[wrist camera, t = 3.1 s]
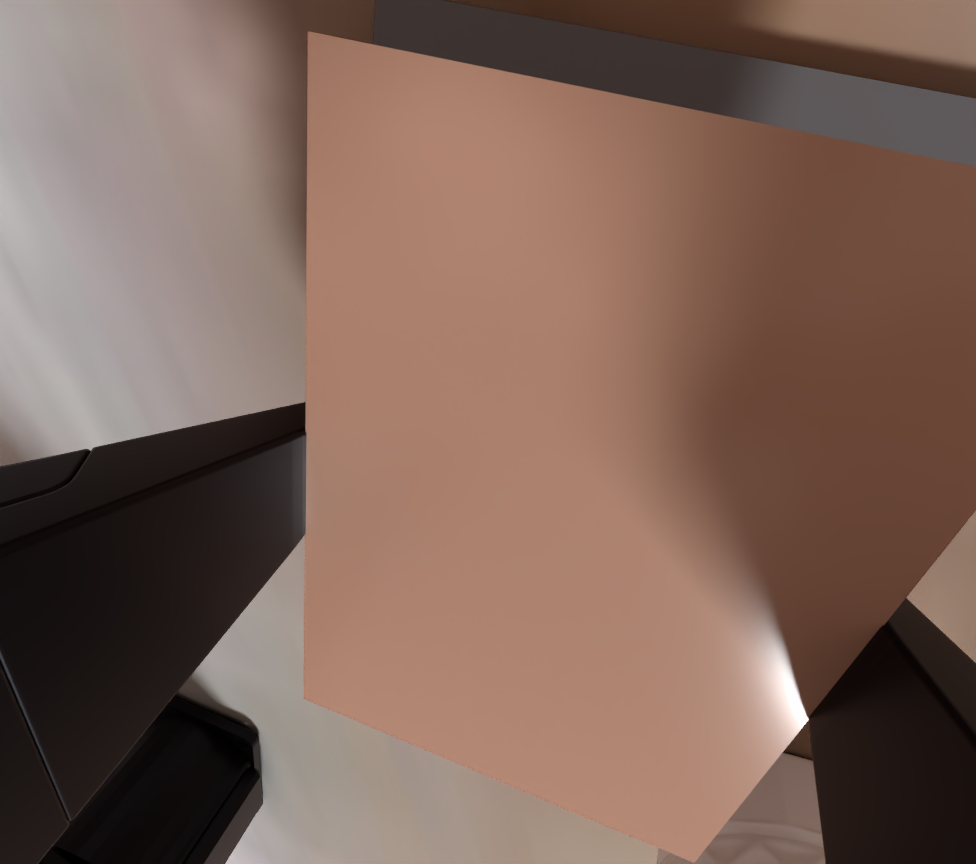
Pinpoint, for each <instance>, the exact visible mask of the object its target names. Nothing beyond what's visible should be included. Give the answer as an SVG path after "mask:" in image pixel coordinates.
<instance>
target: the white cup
mask: <svg viewBox="0 0 976 864" xmlns="http://www.w3.org/2000/svg"><path fill="white" fill-rule="evenodd" d="M657 864H825V856H824V848H823V840H822V831H821V823H820V815H819V807H818V799H817V791H816V783H815V775H814V767H813V761H812V760H808V759H805V758H801V757H797V756H794V755H790V754H786V753H783V752H782V754H781V755H780V756H779V757H778V759H777V760H776V761H775V763H774V764H773V765H772V766H771V768H770V769H769V770H768V771H767V773H766V774H765V775H764V776H763V778H762V779H761V780H760V781H759V783H758V784H757V785H756V786H755V788H754V789H753V790H752V791H751V793H750V794H749V795H748V796H747V798H746V799H745V800H744V801H743V803H742V804H741V805H740V806H739V808H738V809H737V810H736V811H735V813H734V814H733V815H732V816H731V818H730V819H729V820H728V821H727V823H726V824H725V825H724V826H723V828H722V829H721V830H720V831H719V833H718V834H717V835H716V836H715V838H714V839H713V840H712V841H711V843H710V844H709V845H708V846H707V848H706V849H705V850H704V852H703V853H702V854H701V855H700V857H699V858H698V859H697V860H696V862H695V863H693V862H691V861H688V860H686V859H684V858H681V857H679V856H677V855H674V854H672V853H669V852H667V851H665V850H662V849H660V848H658V855H657Z"/></svg>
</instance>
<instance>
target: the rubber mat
mask: <svg viewBox="0 0 976 864" xmlns="http://www.w3.org/2000/svg"><path fill="white" fill-rule="evenodd" d="M373 45H378V46H383V47H388V48H393V49H398V50H403V51H408V52H413V53H418V54H423V55H427V56H432V57H437V58H442V59H447V60H452V61H457V62H462V63H467V64H472V65H477V66H482V67H487V68H492V69H496V70H501V71H506V72H511V73H516V74H521V75H526V76H531V77H536V78H541V79H546V80H551V81H556V82H560V83H565V84H570V85H575V86H580V87H585V88H590V89H595V90H600V91H605V92H610V93H615V94H620V95H625V96H629V97H634V98H639V99H644V100H649V101H654V102H659V103H664V104H669V105H674V106H679V107H684V108H689V109H694V110H698V111H703V112H708V113H713V114H718V115H723V116H728V117H733V118H738V119H743V120H748V121H753V122H758V123H762V124H767V125H772V126H777V127H782V128H787V129H792V130H797V131H802V132H807V133H812V134H817V135H822V136H827V137H831V138H836V139H841V140H846V141H851V142H856V143H861V144H866V145H871V146H876V147H881V148H886V149H891V150H896V151H900V152H905V153H910V154H915V155H920V156H925V157H930V158H935V159H940V160H945V161H950V162H955V163H960V164H964V165H969V166H974V167H976V98H970V97H965V96H959V95H954V94H948V93H943V92H938V91H932V90H927V89H921V88H916V87H911V86H905V85H900V84H894V83H889V82H883V81H878V80H873V79H867V78H862V77H856V76H851V75H846V74H840V73H835V72H829V71H824V70H819V69H813V68H808V67H802V66H797V65H791V64H786V63H781V62H775V61H770V60H764V59H759V58H754V57H748V56H743V55H737V54H732V53H726V52H721V51H716V50H710V49H705V48H699V47H694V46H689V45H683V44H678V43H672V42H667V41H661V40H656V39H651V38H645V37H640V36H634V35H629V34H624V33H618V32H613V31H607V30H602V29H597V28H591V27H586V26H580V25H575V24H569V23H564V22H559V21H553V20H548V19H542V18H537V17H532V16H526V15H521V14H515V13H510V12H504V11H499V10H494V9H488V8H483V7H477V6H472V5H467V4H461V3H456V2H450V1H445V0H375V15H374V33H373Z"/></svg>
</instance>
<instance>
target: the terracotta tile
mask: <svg viewBox="0 0 976 864" xmlns="http://www.w3.org/2000/svg"><path fill="white" fill-rule="evenodd" d="M305 431H306V434H307V441H306V533H305V590H304V699H306V700H308V701H310V702H313V703H315V704H317V705H320V706H322V707H325V708H327V709H329V710H332V711H334V712H336V713H339V714H341V715H344V716H346V717H348V718H351V719H353V720H355V721H358V722H360V723H363V724H365V725H367V726H370V727H372V728H374V729H377V730H379V731H382V732H384V733H386V734H389V735H391V736H394V737H396V738H398V739H401V740H403V741H405V742H408V743H410V744H413V745H415V746H417V747H420V748H422V749H424V750H427V751H429V752H432V753H434V754H436V755H439V756H441V757H443V758H446V759H448V760H451V761H453V762H455V763H458V764H460V765H462V766H465V767H467V768H470V769H472V770H474V771H477V772H479V773H482V774H484V775H486V776H489V777H491V778H493V779H496V780H498V781H501V782H503V783H505V784H508V785H510V786H512V787H515V788H517V789H520V790H522V791H524V792H527V793H529V794H531V795H534V796H536V797H539V798H541V799H543V800H546V801H548V802H550V803H553V804H555V805H558V806H560V807H562V808H565V809H567V810H570V811H572V812H574V813H577V814H579V815H581V816H584V817H586V818H589V819H591V820H593V821H596V822H598V823H600V824H603V825H605V826H608V827H610V828H612V829H615V830H617V831H619V832H622V833H624V834H627V835H629V836H631V837H634V838H636V839H638V840H641V841H643V842H646V843H648V844H650V845H653V846H655V847H658V848H660V849H662V850H665V851H667V852H669V853H672V854H674V855H677V856H679V857H681V858H684V859H686V860H688V861H691V862H693V863H695V862H696V860H697V859H698V858H699V857H700V855H701V854H702V853H703V852H704V850H705V849H706V848H707V846H708V845H709V844H710V843H711V841H712V840H713V839H714V838H715V836H716V835H717V834H718V833H719V831H720V830H721V829H722V828H723V826H724V825H725V824H726V823H727V821H728V820H729V819H730V818H731V816H732V815H733V814H734V813H735V811H736V810H737V809H738V808H739V806H740V805H741V804H742V803H743V801H744V800H745V799H746V798H747V796H748V795H749V794H750V793H751V791H752V790H753V789H754V788H755V786H756V785H757V784H758V783H759V781H760V780H761V779H762V778H763V776H764V775H765V774H766V773H767V771H768V770H769V769H770V768H771V766H772V765H773V764H774V763H775V761H776V760H777V759H778V757H779V756H780V755H781V754H782V752H783V751H784V750H785V749H786V747H787V746H788V745H789V744H790V742H791V741H792V740H793V739H794V737H795V736H796V735H797V734H798V732H799V731H800V730H801V729H802V727H803V726H804V725H805V724H806V722H807V721H808V720H809V716H810V715H811V714H812V713H813V711H814V710H815V709H816V708H817V706H818V705H819V704H820V703H821V701H822V700H823V699H824V697H825V696H826V695H827V694H828V692H829V691H830V690H831V689H832V687H833V686H834V685H835V684H836V682H837V681H838V680H839V679H840V677H841V676H842V675H843V674H844V672H845V671H846V670H847V669H848V667H849V666H850V665H851V664H852V662H853V661H854V660H855V659H856V657H857V656H858V655H859V654H860V652H861V651H862V650H863V649H864V647H865V646H866V645H867V644H868V642H869V641H870V640H871V639H872V637H873V636H874V635H875V634H876V632H877V631H878V630H879V628H880V627H881V626H883V625H885V623H886V622H887V621H888V620H889V618H890V617H891V616H892V615H893V613H894V612H895V611H896V610H897V608H898V607H899V606H900V605H901V603H902V602H903V601H904V600H905V598H906V597H907V596H908V595H909V593H910V592H911V591H912V590H913V588H914V587H915V586H916V585H917V583H918V582H919V581H920V580H921V578H922V577H923V576H924V574H925V573H926V572H927V571H928V569H929V568H930V567H931V566H932V564H933V563H934V562H935V561H936V559H937V558H938V557H939V556H940V554H941V553H942V552H943V551H944V549H945V548H946V547H947V546H948V544H949V543H950V542H951V541H952V539H953V538H954V537H955V536H956V534H957V533H958V532H959V531H960V529H961V528H962V527H963V526H964V524H965V523H966V522H967V521H968V519H969V518H970V517H971V516H972V514H973V513H974V512H975V511H976V167H974V166H969V165H964V164H960V163H955V162H950V161H945V160H940V159H935V158H930V157H925V156H920V155H915V154H910V153H905V152H900V151H896V150H891V149H886V148H881V147H876V146H871V145H866V144H861V143H856V142H851V141H846V140H841V139H836V138H831V137H827V136H822V135H817V134H812V133H807V132H802V131H797V130H792V129H787V128H782V127H777V126H772V125H767V124H762V123H758V122H753V121H748V120H743V119H738V118H733V117H728V116H723V115H718V114H713V113H708V112H703V111H698V110H694V109H689V108H684V107H679V106H674V105H669V104H664V103H659V102H654V101H649V100H644V99H639V98H634V97H629V96H625V95H620V94H615V93H610V92H605V91H600V90H595V89H590V88H585V87H580V86H575V85H570V84H565V83H560V82H556V81H551V80H546V79H541V78H536V77H531V76H526V75H521V74H516V73H511V72H506V71H501V70H496V69H492V68H487V67H482V66H477V65H472V64H467V63H462V62H457V61H452V60H447V59H442V58H437V57H432V56H427V55H423V54H418V53H413V52H408V51H403V50H398V49H393V48H388V47H383V46H378V45H373V44H368V43H363V42H358V41H354V40H349V39H344V38H339V37H334V36H329V35H324V34H319V33H314V32H309V31H308V80H307V250H306V420H305Z"/></svg>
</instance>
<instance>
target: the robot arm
mask: <svg viewBox="0 0 976 864" xmlns="http://www.w3.org/2000/svg"><path fill="white" fill-rule="evenodd" d="M305 420H306V402H304V403H299V404H294V405H290V406H285V407H280V408H276V409H271V410H266V411H262V412H257V413H252V414H248V415H243V416H238V417H234V418H229V419H224V420H220V421H215V422H210V423H206V424H201V425H196V426H192V427H187V428H182V429H178V430H173V431H168V432H164V433H159V434H154V435H150V436H145V437H140V438H136V439H131V440H126V441H122V442H117V443H112V444H108V445H103V446H98V447H94V448H93V449H92V450H91V451H90V450H89V449H83V450H79V451H74V452H70V453H65V454H60V455H56V456H51V457H46V458H41V459H36V460H31V461H26V462H21V463H16V464H11V465H6V466H0V864H225V863H226V861H227V860H228V858H229V856H230V855H231V853H232V852H233V850H234V848H235V847H236V845H237V843H238V842H239V840H240V839H241V837H242V835H243V834H244V832H245V831H246V829H247V827H248V826H249V824H250V823H251V821H252V819H253V818H254V816H255V814H256V813H257V812H258V810H259V809H260V807H261V806H262V804H263V795H262V780H261V766H260V751H259V739H258V737H257V736H256V734H255V733H253V732H252V731H250V730H249V729H247V728H244V727H242V726H240V725H237V724H235V723H233V722H231V721H228V720H226V719H224V718H221V717H219V716H217V715H215V714H212V713H210V712H208V711H206V710H203V709H201V708H199V707H196V706H194V705H192V704H190V703H187V702H185V701H183V700H181V699H178V698H176V697H174V695H175V694H176V693H177V692H178V690H179V689H180V688H181V687H182V686H183V684H184V683H185V682H186V681H187V679H188V678H189V677H190V676H191V675H192V673H193V672H194V671H195V670H196V668H197V667H198V666H199V665H200V663H201V662H202V661H203V660H204V659H205V657H206V656H207V655H208V654H209V652H210V651H211V650H212V649H213V648H214V646H215V645H216V644H217V643H218V641H219V640H220V639H221V638H222V636H223V635H224V634H225V633H226V632H227V630H228V629H229V628H230V627H231V625H232V624H233V623H234V622H235V621H236V619H237V618H238V617H239V616H240V614H241V613H242V612H243V611H244V609H245V608H246V607H247V606H248V605H249V603H250V602H251V601H252V600H253V598H254V597H255V596H256V595H257V594H258V592H259V591H260V590H261V589H262V587H263V586H264V585H265V584H266V582H267V581H268V580H269V579H270V578H271V576H272V575H273V574H274V573H275V571H276V570H277V569H278V568H279V567H280V565H281V564H282V563H283V562H284V560H285V559H286V558H287V557H288V555H289V554H290V553H291V552H292V551H293V549H294V548H295V547H296V545H297V544H298V543H299V542H300V540H301V539H302V538H303V536H304V535H305V533H306V441H307V434H306V431H305ZM809 732H810V742H811V750H812V758H813V767H814V775H815V783H816V791H817V799H818V807H819V815H820V823H821V831H822V840H823V848H824V856H825V864H976V663H975V662H974V661H973V660H972V659H971V658H970V657H969V656H968V655H966V654H965V653H964V652H963V651H962V650H961V649H960V648H959V647H958V646H957V645H956V644H955V643H954V642H953V641H952V640H950V639H949V638H948V637H947V636H946V635H945V634H944V633H943V632H942V631H941V630H940V629H939V628H938V627H937V626H936V625H934V624H933V623H932V622H931V621H930V620H929V619H928V618H927V617H926V616H925V615H924V614H923V613H922V612H921V611H920V610H918V609H917V608H916V607H915V606H914V605H913V604H912V603H911V602H910V601H909V600H908V599H907V598H905V600H904V601H903V602H902V603H901V605H900V606H899V607H898V608H897V610H896V611H895V612H894V613H893V615H892V616H891V617H890V618H889V620H888V621H887V622H886V623H885V625H883V626H881V627H880V628H879V630H878V631H877V632H876V634H875V635H874V636H873V637H872V639H871V640H870V641H869V642H868V644H867V645H866V646H865V647H864V649H863V650H862V651H861V652H860V654H859V655H858V656H857V657H856V659H855V660H854V661H853V662H852V664H851V665H850V666H849V667H848V669H847V670H846V671H845V672H844V674H843V675H842V676H841V677H840V679H839V680H838V681H837V682H836V684H835V685H834V686H833V687H832V689H831V690H830V691H829V692H828V694H827V695H826V696H825V697H824V699H823V700H822V701H821V703H820V704H819V705H818V706H817V708H816V709H815V710H814V711H813V713H812V714H811V715H810V716H809Z"/></svg>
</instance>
